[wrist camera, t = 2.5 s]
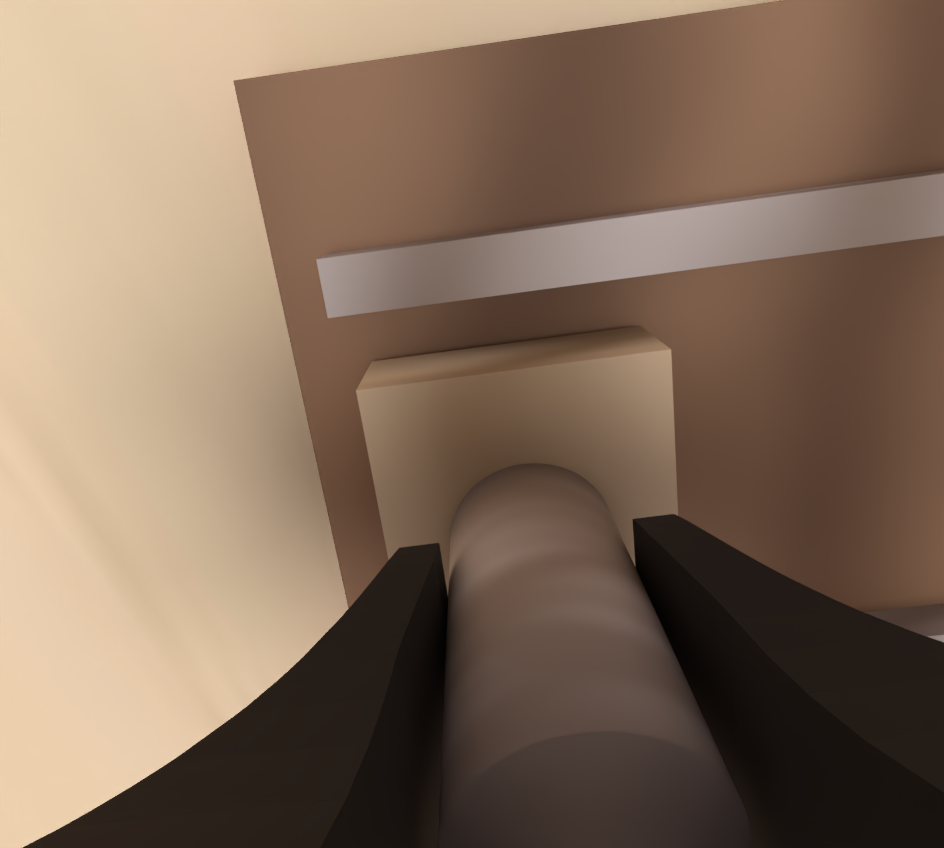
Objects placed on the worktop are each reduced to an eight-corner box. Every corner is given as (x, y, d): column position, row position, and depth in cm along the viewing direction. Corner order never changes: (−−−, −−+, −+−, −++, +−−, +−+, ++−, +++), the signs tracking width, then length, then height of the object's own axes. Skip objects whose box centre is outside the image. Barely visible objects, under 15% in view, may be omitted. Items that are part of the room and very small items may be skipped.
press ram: (640, 325, 13) (897, 521, 5) (655, 606, 15) (861, 1050, 7) (371, 361, 13) (240, 602, 5) (421, 634, 15) (375, 1097, 7)
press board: (1469, -84, 12) (2032, -238, 8) (1264, 662, 17) (1538, 824, 13) (258, 92, 13) (152, 42, 9) (398, 760, 18) (376, 946, 14)
